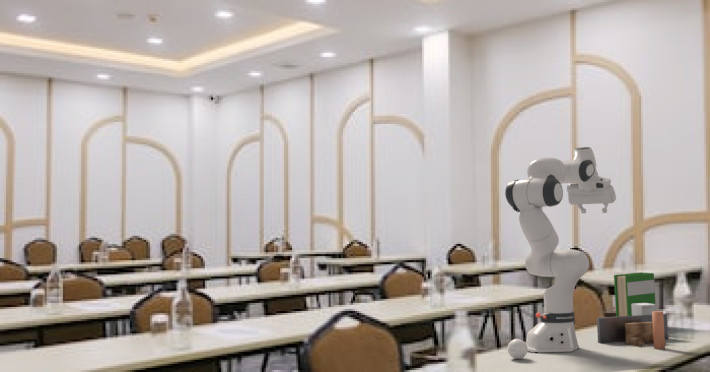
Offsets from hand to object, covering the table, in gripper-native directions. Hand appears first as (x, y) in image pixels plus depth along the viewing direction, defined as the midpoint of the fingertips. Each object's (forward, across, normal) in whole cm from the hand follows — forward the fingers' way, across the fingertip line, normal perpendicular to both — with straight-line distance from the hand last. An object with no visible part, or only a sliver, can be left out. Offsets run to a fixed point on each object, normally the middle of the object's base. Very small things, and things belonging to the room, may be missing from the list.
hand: (594, 212), depth 318 cm
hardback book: (+60, +6, +9) cm, 60 cm away
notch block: (+45, +23, -30) cm, 59 cm away
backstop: (+47, +17, -25) cm, 56 cm away
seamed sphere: (+28, -6, -80) cm, 85 cm away
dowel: (+43, +32, -37) cm, 65 cm away
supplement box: (+54, +15, -6) cm, 57 cm away
